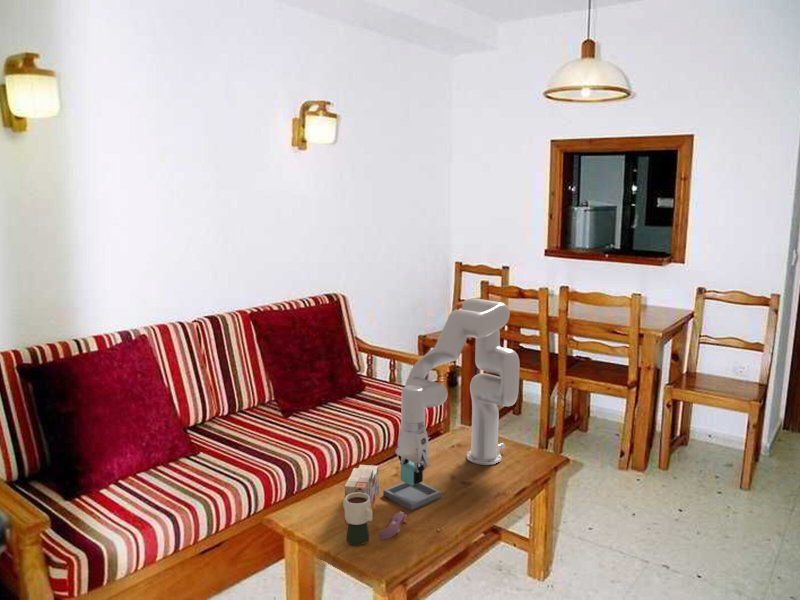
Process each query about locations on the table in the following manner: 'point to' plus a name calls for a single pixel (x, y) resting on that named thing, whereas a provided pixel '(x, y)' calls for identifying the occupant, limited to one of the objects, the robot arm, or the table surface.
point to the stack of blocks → (364, 482)
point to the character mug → (357, 517)
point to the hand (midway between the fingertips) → (411, 479)
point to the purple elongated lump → (393, 525)
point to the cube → (408, 473)
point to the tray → (412, 494)
